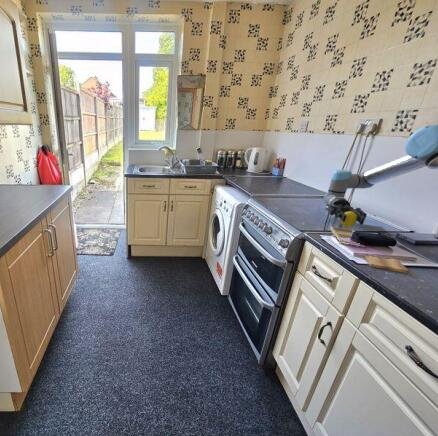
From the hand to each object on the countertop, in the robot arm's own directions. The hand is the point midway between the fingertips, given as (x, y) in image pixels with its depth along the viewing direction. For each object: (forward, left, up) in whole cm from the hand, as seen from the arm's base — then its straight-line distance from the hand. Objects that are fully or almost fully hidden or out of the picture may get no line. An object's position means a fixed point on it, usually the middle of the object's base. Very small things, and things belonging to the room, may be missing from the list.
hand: (353, 219), depth 103 cm
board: (-6, +20, -9) cm, 22 cm away
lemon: (0, -5, -6) cm, 8 cm away
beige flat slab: (0, -1, -9) cm, 9 cm away
